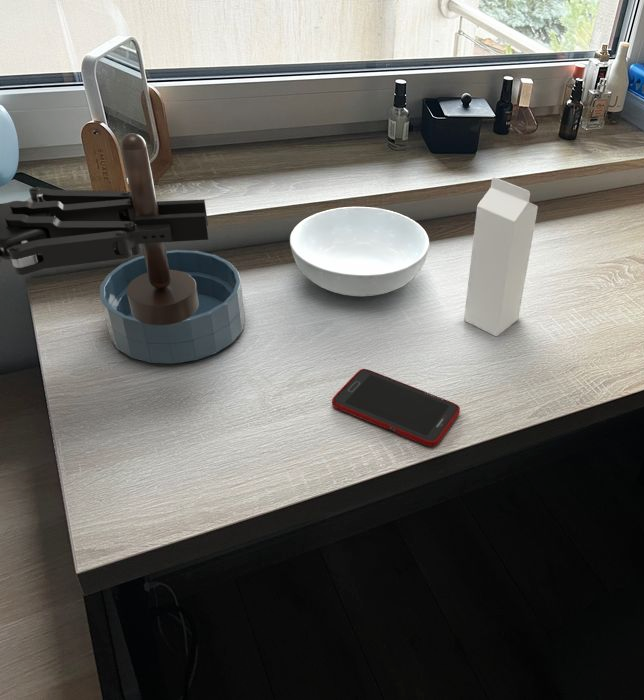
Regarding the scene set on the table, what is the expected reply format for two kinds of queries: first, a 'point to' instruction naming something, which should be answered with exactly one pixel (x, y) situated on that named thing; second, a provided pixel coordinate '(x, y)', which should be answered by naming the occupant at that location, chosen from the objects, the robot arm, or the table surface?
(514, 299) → the milk
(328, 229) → the serving bowl
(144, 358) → the mixing bowl
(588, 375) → the table surface
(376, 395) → the cell phone
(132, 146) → the paper towel holder
